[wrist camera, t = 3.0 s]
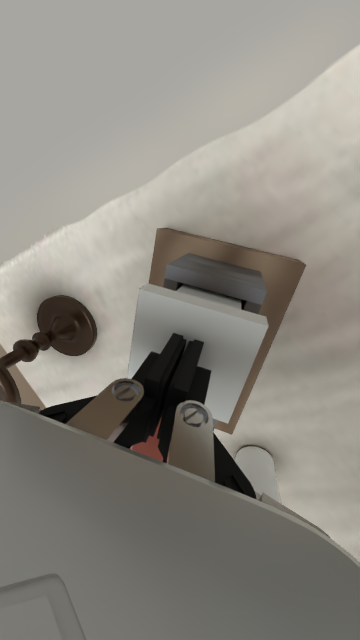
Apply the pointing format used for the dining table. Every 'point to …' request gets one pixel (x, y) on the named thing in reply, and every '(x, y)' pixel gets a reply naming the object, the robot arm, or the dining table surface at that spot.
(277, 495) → the drinking glass
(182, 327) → the grey plunger
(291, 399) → the dining table surface
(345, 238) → the dining table surface
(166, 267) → the board
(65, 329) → the candlestick
